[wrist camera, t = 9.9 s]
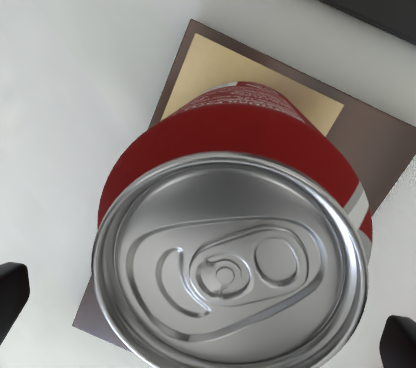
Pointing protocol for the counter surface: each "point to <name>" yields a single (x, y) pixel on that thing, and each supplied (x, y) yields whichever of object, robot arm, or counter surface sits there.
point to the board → (302, 99)
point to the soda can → (233, 237)
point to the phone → (383, 15)
